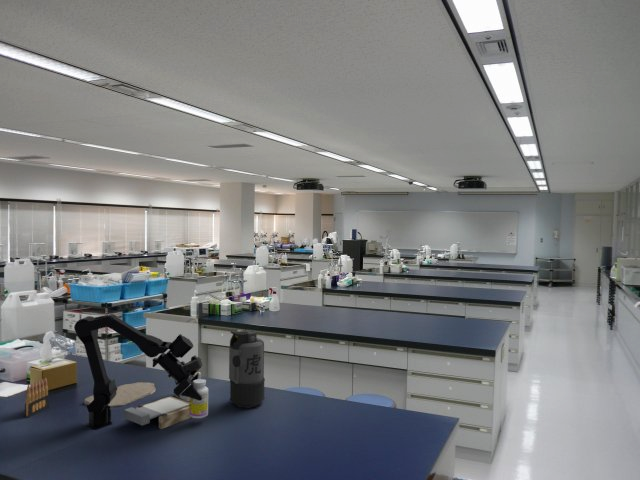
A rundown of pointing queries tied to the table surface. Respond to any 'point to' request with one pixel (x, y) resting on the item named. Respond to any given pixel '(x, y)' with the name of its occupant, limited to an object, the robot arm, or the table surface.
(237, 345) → the kanji thermos flask
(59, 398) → the table surface
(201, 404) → the supplement bottle
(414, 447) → the table surface
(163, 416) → the tan framed slab
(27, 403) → the ammunition clip
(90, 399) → the stone tablet
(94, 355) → the robot arm
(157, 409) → the trapdoor
